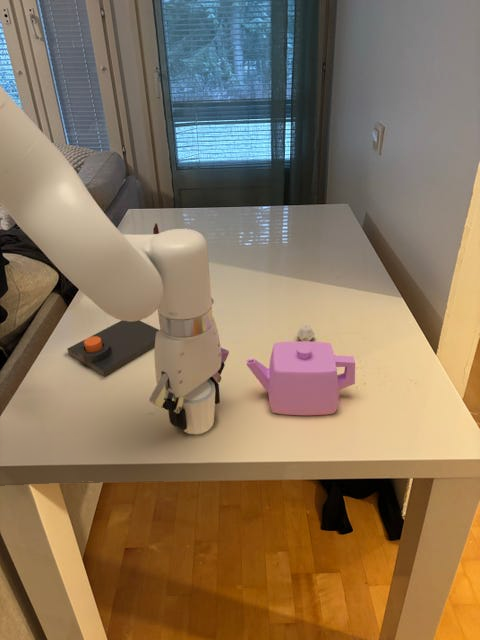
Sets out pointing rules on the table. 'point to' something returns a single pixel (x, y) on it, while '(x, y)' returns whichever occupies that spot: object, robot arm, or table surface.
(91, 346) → the button
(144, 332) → the scale
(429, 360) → the table surface
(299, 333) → the game die
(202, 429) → the beige cup
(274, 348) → the teapot
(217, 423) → the table surface
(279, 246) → the table surface
